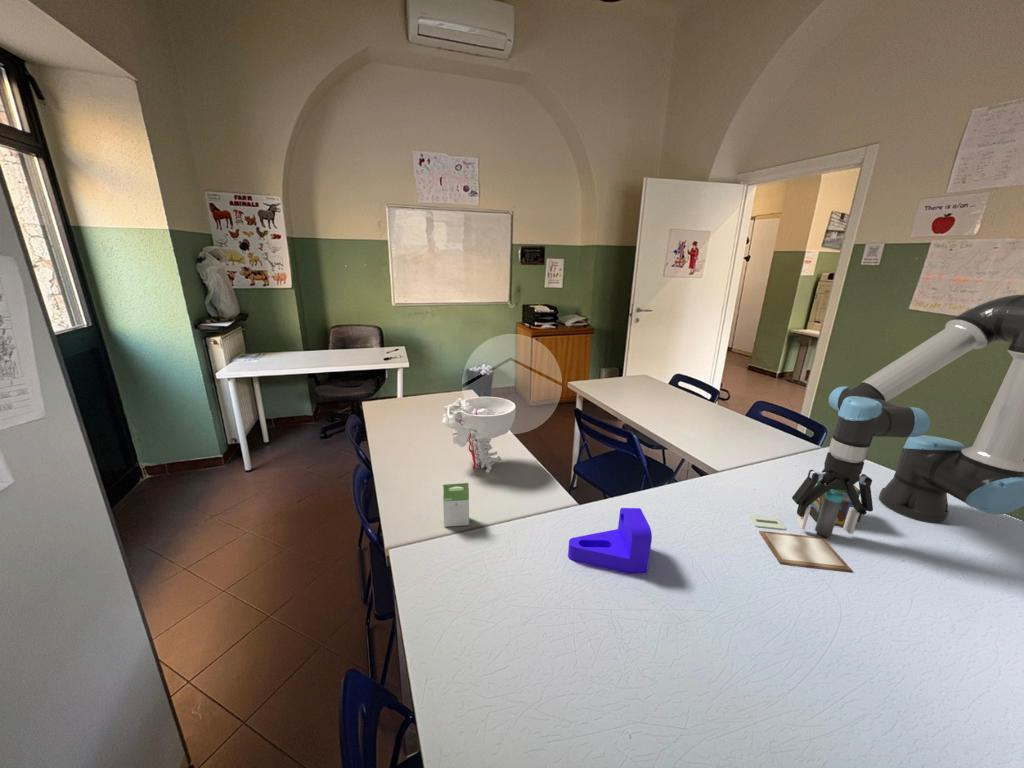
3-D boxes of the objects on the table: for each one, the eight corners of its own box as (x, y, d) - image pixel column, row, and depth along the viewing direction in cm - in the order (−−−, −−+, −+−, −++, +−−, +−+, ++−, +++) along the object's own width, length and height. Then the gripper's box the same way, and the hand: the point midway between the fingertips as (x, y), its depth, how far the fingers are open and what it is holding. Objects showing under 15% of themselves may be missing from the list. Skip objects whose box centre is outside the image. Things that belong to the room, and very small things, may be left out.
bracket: (633, 543, 106) (638, 504, 102) (646, 574, 96) (652, 532, 92) (565, 541, 106) (568, 503, 102) (570, 573, 95) (574, 531, 92)
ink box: (469, 517, 115) (468, 475, 111) (469, 525, 111) (468, 483, 107) (444, 518, 114) (443, 476, 110) (444, 527, 110) (442, 484, 106)
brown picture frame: (822, 539, 109) (823, 537, 108) (851, 572, 97) (852, 569, 97) (758, 532, 111) (759, 530, 110) (779, 563, 99) (780, 561, 99)
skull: (510, 452, 153) (511, 395, 147) (517, 477, 136) (519, 414, 129) (444, 455, 150) (442, 397, 143) (442, 482, 132) (440, 417, 125)
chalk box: (851, 527, 114) (866, 481, 109) (814, 522, 116) (828, 477, 111) (834, 508, 122) (847, 465, 118) (800, 504, 124) (812, 461, 120)
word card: (777, 519, 117) (777, 517, 117) (785, 530, 112) (786, 528, 112) (747, 516, 118) (748, 514, 118) (755, 526, 113) (755, 525, 113)
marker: (825, 531, 112) (838, 489, 108) (833, 540, 108) (846, 497, 104) (811, 529, 112) (823, 488, 108) (818, 538, 109) (831, 496, 105)
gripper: (886, 453, 105) (862, 524, 112) (789, 445, 108) (771, 515, 115) (908, 467, 98) (881, 542, 105) (804, 459, 101) (784, 532, 108)
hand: (824, 528), depth 110 cm, fingers open, 11 cm apart
